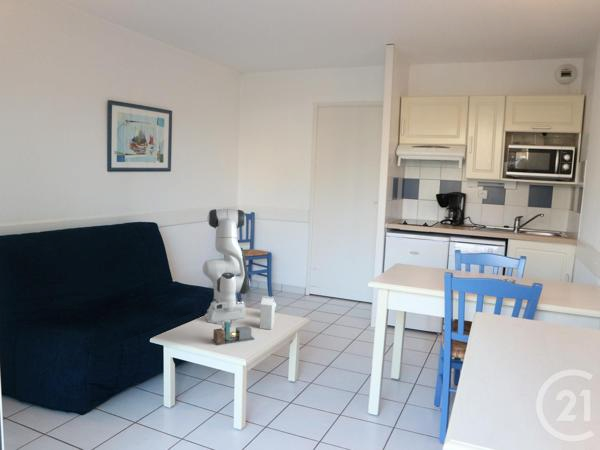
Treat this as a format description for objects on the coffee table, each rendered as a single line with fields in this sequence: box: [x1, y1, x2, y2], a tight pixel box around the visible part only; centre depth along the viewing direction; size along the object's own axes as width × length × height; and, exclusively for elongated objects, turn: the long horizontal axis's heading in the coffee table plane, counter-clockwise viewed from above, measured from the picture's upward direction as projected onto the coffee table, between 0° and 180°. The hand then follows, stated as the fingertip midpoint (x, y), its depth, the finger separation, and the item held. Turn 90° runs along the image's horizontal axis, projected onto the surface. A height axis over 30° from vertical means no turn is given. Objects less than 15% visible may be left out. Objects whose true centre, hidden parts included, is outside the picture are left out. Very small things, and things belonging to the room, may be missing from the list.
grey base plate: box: [211, 325, 255, 346], centre depth 265 cm, size 22×8×6 cm, turn 120°
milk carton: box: [259, 295, 276, 330], centre depth 288 cm, size 7×7×19 cm
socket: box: [212, 327, 225, 343], centre depth 261 cm, size 4×6×6 cm
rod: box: [223, 321, 239, 340], centre depth 264 cm, size 13×4×10 cm, turn 120°
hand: (226, 327), depth 262 cm, fingers closed on rod, 2 cm apart
